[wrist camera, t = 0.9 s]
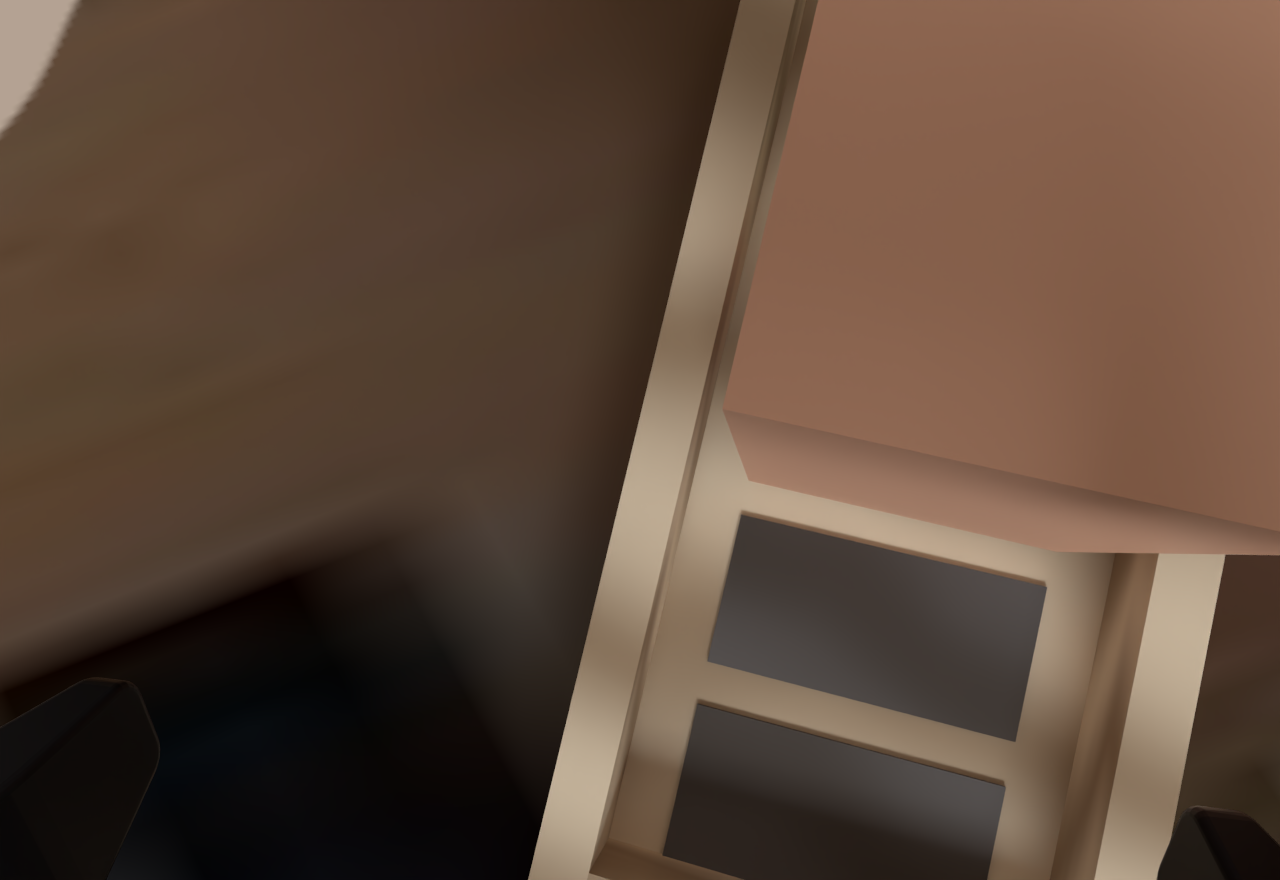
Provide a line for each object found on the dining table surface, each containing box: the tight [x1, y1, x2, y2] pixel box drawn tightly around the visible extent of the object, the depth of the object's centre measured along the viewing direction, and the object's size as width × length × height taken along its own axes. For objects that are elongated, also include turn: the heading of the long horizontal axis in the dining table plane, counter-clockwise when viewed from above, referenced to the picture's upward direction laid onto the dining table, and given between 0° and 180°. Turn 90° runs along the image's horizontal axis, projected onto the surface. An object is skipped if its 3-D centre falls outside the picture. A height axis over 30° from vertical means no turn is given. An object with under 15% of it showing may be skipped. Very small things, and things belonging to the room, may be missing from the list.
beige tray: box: [528, 0, 1225, 880], centre depth 22 cm, size 24×12×4 cm, turn 166°
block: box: [722, 0, 1280, 555], centre depth 17 cm, size 6×7×12 cm
